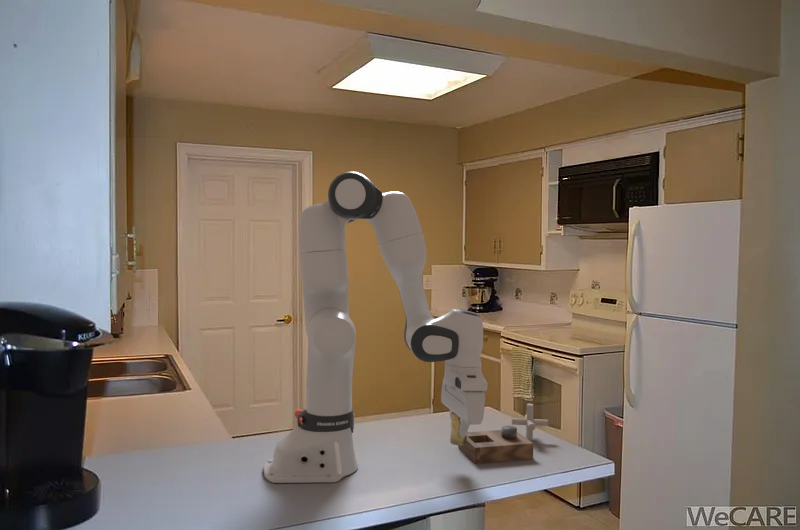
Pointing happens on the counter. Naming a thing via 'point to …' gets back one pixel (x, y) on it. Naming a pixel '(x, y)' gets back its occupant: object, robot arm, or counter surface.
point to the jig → (497, 446)
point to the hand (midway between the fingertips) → (458, 431)
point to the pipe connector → (529, 422)
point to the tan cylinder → (456, 432)
